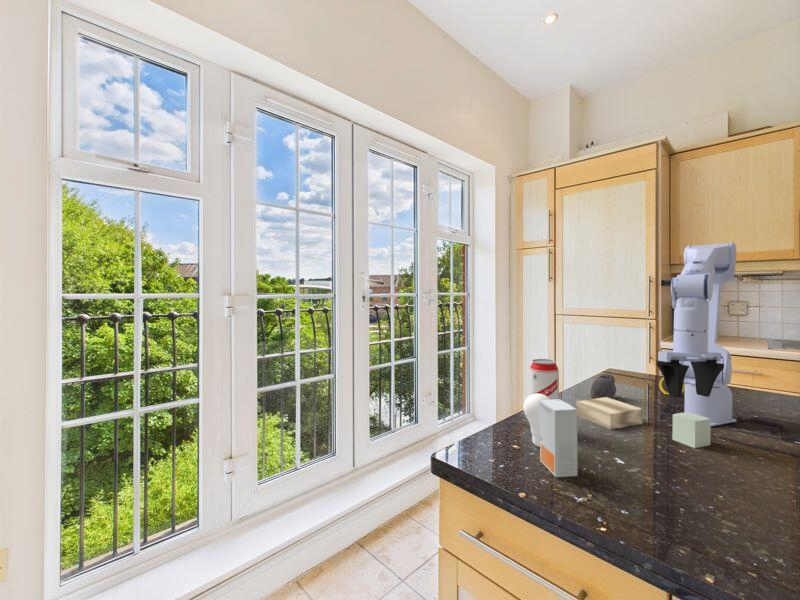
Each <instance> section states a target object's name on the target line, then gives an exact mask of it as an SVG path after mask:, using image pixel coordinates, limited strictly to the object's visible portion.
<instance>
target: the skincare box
mask: <svg viewBox="0 0 800 600" xmlns="http://www.w3.org/2000/svg"><path fill="white" fill-rule="evenodd" d="M539 461H540V463H542V464H543V466H544V467H545V468H546V469H547V470H548V471H549V472H550V473H551V474H552V476H554V477H555V478H567V477H568V478H569V477H578V416H577V408H576V407H574V406H572V405H571V404H570V403H568V402H565V401H564V400H562V399H560V398H559V399H553V400H540V447H539Z"/></svg>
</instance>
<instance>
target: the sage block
mask: <svg viewBox="0 0 800 600" xmlns="http://www.w3.org/2000/svg"><path fill="white" fill-rule="evenodd" d="M683 412H684V411H683ZM683 412H679V413H678V412H677V413H678V414H677V413H674V414H672V433H671V434H672V438H671V439H672V441H675V442H678V443H680V444H682V445H685V446H688V447H691V448H693V449H697V448H702V447H707V446H711V431H712V430H711V427H712V426H711V419H710V418H706V417H703V416H700V415H696V414H693V413H690V412H684V413H683Z"/></svg>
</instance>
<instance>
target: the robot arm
mask: <svg viewBox="0 0 800 600" xmlns="http://www.w3.org/2000/svg"><path fill="white" fill-rule="evenodd" d="M683 264H684V267H683V269H682V271H681V273H680V274H677V275H676V277H672V279H671V283H670V294H671V295H670V296H671V302H672V303H671V306H672V309H674V310H673V338H672V339H673V340H672V341H673V343H672V344H673V346H672V349H673V350H666V351H658V354H657V360H656V366H657V368H658V369H659V371H660V372H661V375H662V376H663V377H662V378H664V383H665V386H666V389H667V393H669V395H668V396H670V397H674V398H678V399H681V398H682V395H683V393H682V390H683V383H684V387H685V389H684V408H683V409H684V411H683V412H682V413H684V412H690V413H693V414H696V415H700V416H703V417H706V418H710V419H711V427H715V426H720V425H725V424H730V423H736V422H737V419H736V418H733V392H732V390H731V389H730V388H729V387H728V384H731V380H732V371H733V370H732V369H733V368H732V366H733V365H732V356H731V354H730V351H728V350H727V349H725V348H724V347H722V346H721V345H719V344H718V337H719V323H720V311H721V297H722V296H721V295H722V291H723V288H724V285H725V283H727V282H729V281H731V280H733V279H734V277H735V276H734V275H736V269H737V268H736V265H737V245H736V243H734V242H732V241H730V242H728V243H727V242H726V243H714V244H700V245H687V246H686V247H685V248H684V250H683ZM676 414H678V412H677V413H676Z"/></svg>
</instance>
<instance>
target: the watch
mask: <svg viewBox="0 0 800 600" xmlns="http://www.w3.org/2000/svg"><path fill="white" fill-rule="evenodd" d="M663 381H665V379H664V377H662V378H661V379H660V381H659V382H658V383H659V384H658V386H659V387H658V388H659V389H660V391H661V392H662V393H663V394H664V395H666V394H668V395H667V396H669V393H668V391H666V390H665V389H664V388H663ZM683 393H685V382H683V390H682V394H683Z"/></svg>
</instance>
